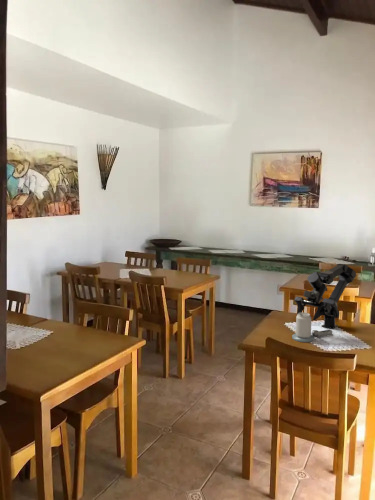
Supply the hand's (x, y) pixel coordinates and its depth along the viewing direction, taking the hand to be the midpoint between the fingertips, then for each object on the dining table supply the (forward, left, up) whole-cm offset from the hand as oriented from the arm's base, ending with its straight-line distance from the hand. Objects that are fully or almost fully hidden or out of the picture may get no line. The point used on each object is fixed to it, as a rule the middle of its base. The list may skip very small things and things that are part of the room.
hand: (305, 317), depth 210 cm
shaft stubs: (-8, 0, -10) cm, 13 cm away
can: (+2, 0, -10) cm, 10 cm away
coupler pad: (+2, 0, -10) cm, 11 cm away
